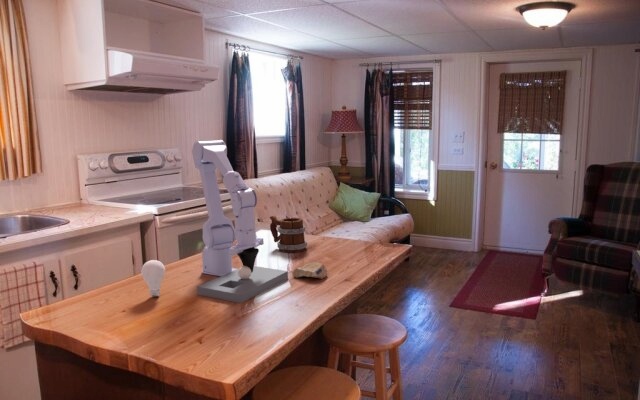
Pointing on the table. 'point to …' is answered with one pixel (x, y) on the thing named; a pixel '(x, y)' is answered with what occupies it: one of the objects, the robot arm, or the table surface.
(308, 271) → the stone
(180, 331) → the table surface
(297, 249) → the mug
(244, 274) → the ball
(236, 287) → the plate
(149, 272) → the light bulb
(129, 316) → the table surface
